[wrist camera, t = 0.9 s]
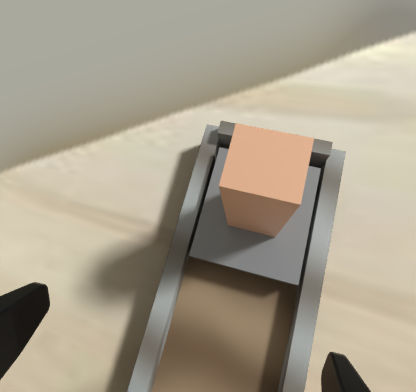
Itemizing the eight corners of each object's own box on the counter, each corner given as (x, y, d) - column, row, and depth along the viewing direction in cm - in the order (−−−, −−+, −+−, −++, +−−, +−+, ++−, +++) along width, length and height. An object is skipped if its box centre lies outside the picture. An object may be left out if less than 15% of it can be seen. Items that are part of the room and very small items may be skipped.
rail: (280, 462, 20) (289, 504, 16) (132, 407, 21) (110, 433, 18) (334, 165, 25) (350, 145, 21) (210, 140, 26) (205, 117, 23)
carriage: (293, 285, 21) (344, 289, 11) (193, 257, 22) (151, 236, 12) (314, 177, 23) (375, 91, 12) (221, 157, 24) (206, 63, 14)
